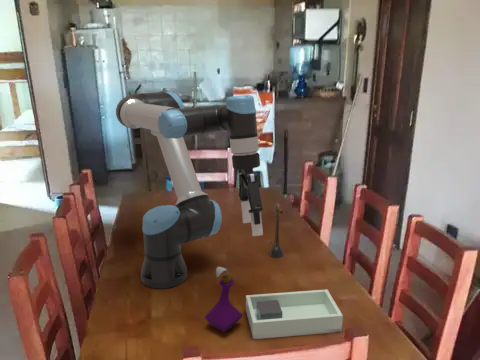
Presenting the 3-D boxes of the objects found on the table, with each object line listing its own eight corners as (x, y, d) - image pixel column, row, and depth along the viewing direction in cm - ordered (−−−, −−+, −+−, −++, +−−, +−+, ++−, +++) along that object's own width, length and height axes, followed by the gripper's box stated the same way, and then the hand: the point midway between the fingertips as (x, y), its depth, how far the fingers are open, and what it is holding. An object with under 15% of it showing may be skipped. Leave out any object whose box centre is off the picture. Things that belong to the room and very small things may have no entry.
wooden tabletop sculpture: (285, 258, 157) (287, 206, 151) (273, 260, 156) (274, 207, 150) (280, 251, 163) (281, 200, 157) (268, 252, 162) (269, 201, 156)
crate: (252, 339, 114) (253, 322, 113) (245, 310, 127) (245, 295, 125) (341, 331, 117) (342, 315, 116) (326, 304, 130) (327, 289, 128)
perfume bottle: (222, 314, 125) (221, 257, 119) (243, 325, 120) (243, 266, 115) (204, 327, 119) (202, 268, 114) (225, 338, 115) (224, 277, 109)
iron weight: (260, 327, 118) (260, 314, 116) (256, 313, 123) (256, 301, 122) (282, 325, 118) (282, 312, 117) (277, 312, 124) (277, 299, 123)
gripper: (270, 156, 107) (277, 239, 111) (249, 147, 132) (255, 216, 135) (240, 160, 106) (248, 243, 110) (224, 150, 130) (231, 219, 134)
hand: (252, 228), depth 123 cm, fingers open, 13 cm apart
